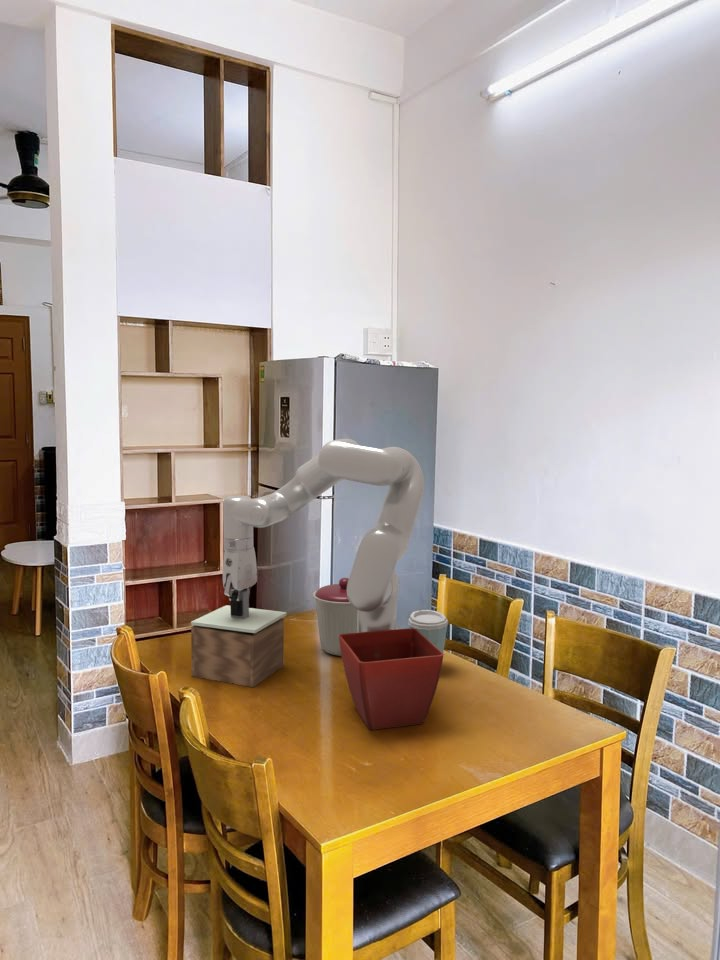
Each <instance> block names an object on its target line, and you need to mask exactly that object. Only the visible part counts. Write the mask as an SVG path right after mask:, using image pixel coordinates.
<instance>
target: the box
mask: <svg viewBox="0 0 720 960" xmlns="http://www.w3.org/2000/svg"><path fill="white" fill-rule="evenodd" d="M284 619H285V618H284V617H283V618H281V619H279V620H278V621H276V622H274V623H272V624H271V625H269V626H267V627H265V628H264V629H262V630H260V631H258V632H257V633H254V634H253V635H250V634H243V633H237V632H235V631H234V630H226V629H219V628H211V627H203V626H196V625H191V627H190V630H191V631H190V633H191V635H190V636H191V637H190V638H191V641H190V642H191V644H190V645H191V646H190V647H191V648H190V649H191V677H193V676H194V678H200V679H204V678H205V679H206V680H210V681H215V680H217V682H223V683H226V682H228V683H227V684H232V683H234V684H233V685H239V686H243V687H251V688H254V687H256V686H257V685H258V684H260V683H261V682H263V681H264V680H266V679H267V678H269V677H271V675H273V674H274V673H275V672H277V671H278V670H280V669H281V668H283V667H284V657H285V655H284V653H285V651H284V647H285V645H284V644H285V643H284V642H285V641H284V636H285V633H284V632H285V631H284V630H285V629H284V628H285V626H284V625H285V620H284ZM268 676H269V677H268Z"/></svg>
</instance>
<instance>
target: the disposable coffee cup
mask: <svg viewBox="0 0 720 960" xmlns="http://www.w3.org/2000/svg"><path fill="white" fill-rule="evenodd" d="M407 624H408V628H413V629H417V630H418V631H419V632H420V633H421V634H422V635H423V636H424V637H425V638H426V639H428V640H429V641H430V642H431V643H432V644H433V645H434V646H435V647H436V648H438V649H439V650H440V651H441V652H442V653H443V654H444V652H445V651H444V649H445V645H446V644H445V643H446V637H447V630H448V625H449V620H448V618H447V617H446V616H445V614H444V613H442V612H439V611H437V610H431V609H421V610H420V609H419V610H415V611H412V612H411V614H410V616H409V618H408V620H407Z"/></svg>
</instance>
